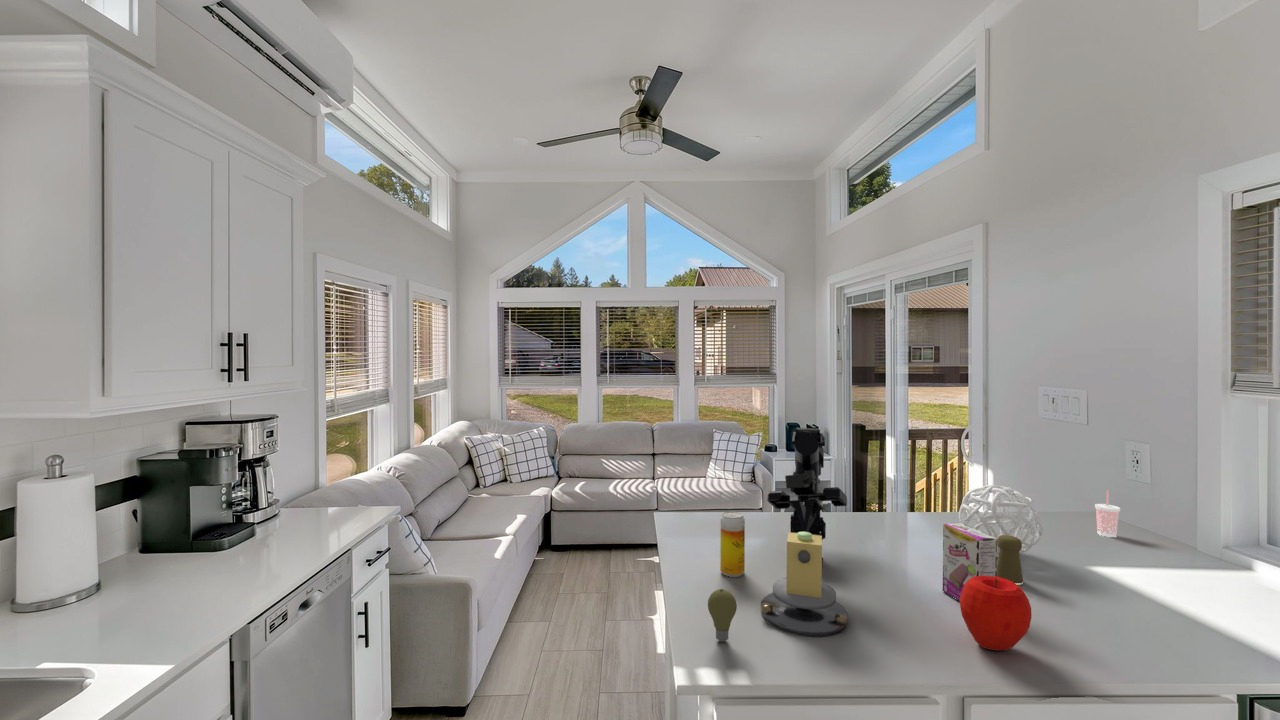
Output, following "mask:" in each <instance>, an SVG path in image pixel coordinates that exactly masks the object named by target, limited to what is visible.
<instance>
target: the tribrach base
mask: <svg viewBox="0 0 1280 720" xmlns="http://www.w3.org/2000/svg"><path fill="white" fill-rule="evenodd" d="M760 614H761V616H762V618H763V619H764V620H765V621H766V622H767V623H768V624H769V625H771V626H773V627H774V628H776V629H778V630H780V631H783V632H786V633H789V634H794V635H795V636H798V635H799V636H802V637H813V638H822V637H823V638H824V637H831V636H835V635H836V636H837V635H839V634H840V633H843V632H844V631H846V630H847V628H848V627H849V620H850V619H849V617H850V616H849V615H850V614H849V611H848V610H847V609H846V607H845V606H844V605H843V604H841V603H840V602H839V601H838V600H836V602H835V604H834V605H832V606H830V607H828V608H824V609H816V610H811V609H801V608H796V607H793V606H790V605H787V604H785V603H783V602H781V601H779V600H778V599H777V598H776V597H775V596H774V595H773V592H770V593H768V594H767V595H765V596H764V597H762V599H761V601H760Z"/></svg>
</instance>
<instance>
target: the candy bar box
mask: <svg viewBox="0 0 1280 720" xmlns="http://www.w3.org/2000/svg"><path fill="white" fill-rule="evenodd" d="M942 533H943V535H942V541H943V542H942V544H943V545H942V554H943V555H942V592H943V591H944V592H945V594H946V593H947V594H946V595H948V594H949V595H950V596H949V595H948V596H949V597H951V596H952V597H951V598H953V597H954V598H956V599H957V600H959V601H960V595H961V592H962V590H963V587H964V585H965V583H966V582H967V581H968V580H969V579H970V578H971V577H975V576H994V577H996V566H997V558H996V557H997V556H996V555H998V554H997V539H996V538H995V537H992V536H990V535H987V534H985V533H983V532H980V531H978V530H976V529H974V527H971V526H969V525H964V524H962V523H960V522H950V523H948V522H946V523H943V532H942ZM944 592H943V593H944ZM954 598H953V599H954ZM956 599H955V600H956ZM957 600H956V601H957ZM959 601H958V602H959Z"/></svg>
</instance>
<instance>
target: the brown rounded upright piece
mask: <svg viewBox="0 0 1280 720" xmlns="http://www.w3.org/2000/svg"><path fill="white" fill-rule="evenodd" d="M997 545H998V547H999V548H1000V549H999V553H998V554H997V555H998V558H997V559H996V577H1000V578H1004V579H1007V580H1010V581H1012V582H1014V583H1022V582H1023V583H1024V578H1023V577H1024V576H1023V572H1022V563H1021V554H1019V551H1020V550H1021V548H1022V542H1021V540H1020V539H1019V537H1018V538H1017V537H1014V535H1011V536H1010V535H1001V536H999V537H998V539H997Z"/></svg>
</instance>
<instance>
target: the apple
mask: <svg viewBox="0 0 1280 720" xmlns="http://www.w3.org/2000/svg"><path fill="white" fill-rule="evenodd" d="M958 602H959V601H958ZM959 608H960V613H961V616H962V619H963V621H964V623H965V625H966V627H967V630H968V631H969V633H970V635H971V637H973V639H974V640H975V642H976V643H977V644H978V645H979V646H981V647H983V649H986V650H987V649H988V650H992V651H1008V650H1010V649H1012V648H1013V647H1015V646H1016V645H1017V644H1018V643H1019V642H1020V640H1022V639H1023V638H1024V637H1025V636H1026V634H1027V633H1028V630H1029V629H1030V626H1031V621H1032V606H1031V604H1030V600H1029V598H1028V596H1027V595H1026V592H1025V591H1024V590H1023V588H1022V587H1021V586H1020V585H1016V584H1015V583H1014V582H1012V581H1010V580H1007V579H1004V578H1000V577H994V576H975V577H971V578H970V579H969V580H968V581H967V582H966V583H965V585H964V587H963V590H962V592H961V595H960V602H959Z"/></svg>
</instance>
